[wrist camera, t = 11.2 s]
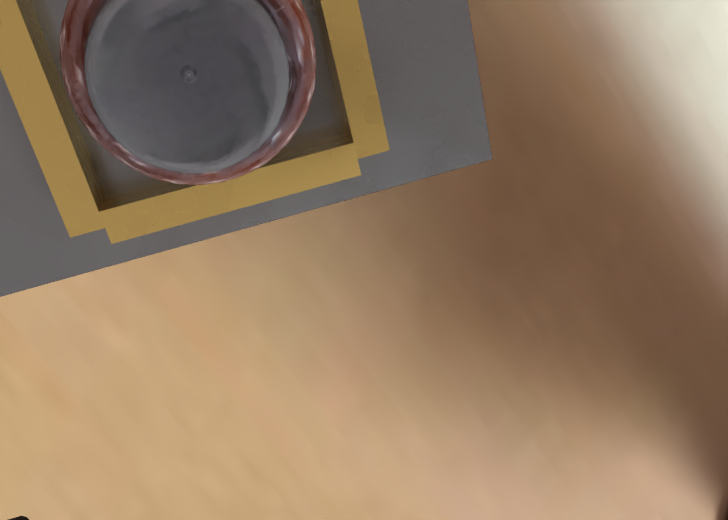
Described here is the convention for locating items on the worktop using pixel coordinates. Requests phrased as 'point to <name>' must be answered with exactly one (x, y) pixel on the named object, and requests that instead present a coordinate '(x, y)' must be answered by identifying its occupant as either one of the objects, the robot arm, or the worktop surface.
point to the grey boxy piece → (255, 189)
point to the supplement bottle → (189, 82)
